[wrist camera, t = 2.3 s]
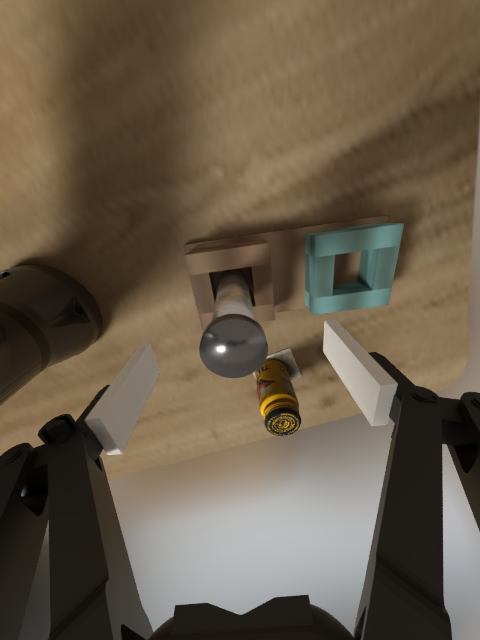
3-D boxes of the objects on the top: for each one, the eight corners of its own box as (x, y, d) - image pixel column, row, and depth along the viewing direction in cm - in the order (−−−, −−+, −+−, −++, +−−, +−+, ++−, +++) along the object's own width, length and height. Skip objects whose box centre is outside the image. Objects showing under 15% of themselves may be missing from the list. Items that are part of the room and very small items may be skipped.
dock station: (202, 319, 36) (198, 334, 31) (185, 244, 30) (176, 249, 26) (371, 296, 35) (392, 308, 30) (383, 215, 29) (412, 215, 25)
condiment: (247, 363, 40) (252, 417, 29) (289, 347, 39) (311, 397, 28) (261, 389, 43) (271, 447, 32) (301, 375, 42) (325, 430, 31)
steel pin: (219, 299, 33) (207, 381, 17) (213, 267, 31) (192, 326, 14) (251, 294, 33) (270, 373, 17) (248, 262, 30) (265, 316, 14)
